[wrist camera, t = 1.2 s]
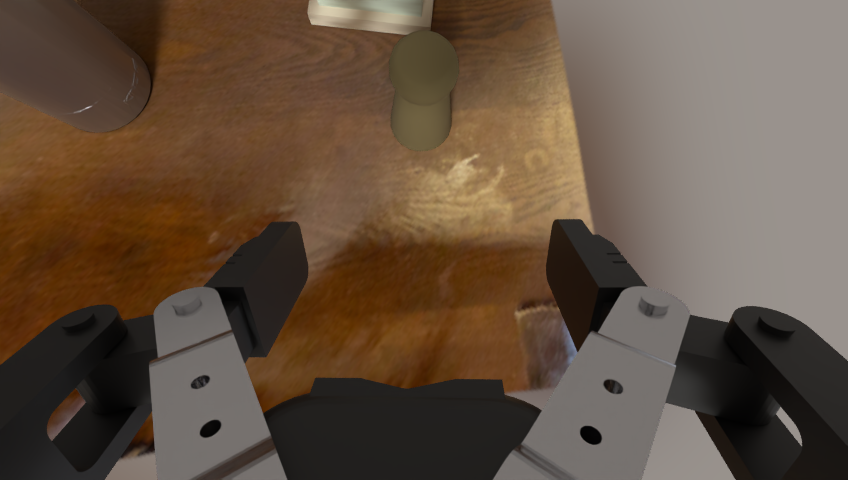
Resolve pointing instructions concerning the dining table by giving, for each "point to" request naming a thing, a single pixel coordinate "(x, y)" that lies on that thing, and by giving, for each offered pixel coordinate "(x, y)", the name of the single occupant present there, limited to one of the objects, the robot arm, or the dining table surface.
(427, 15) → the plinth
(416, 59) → the cork
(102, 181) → the dining table surface
